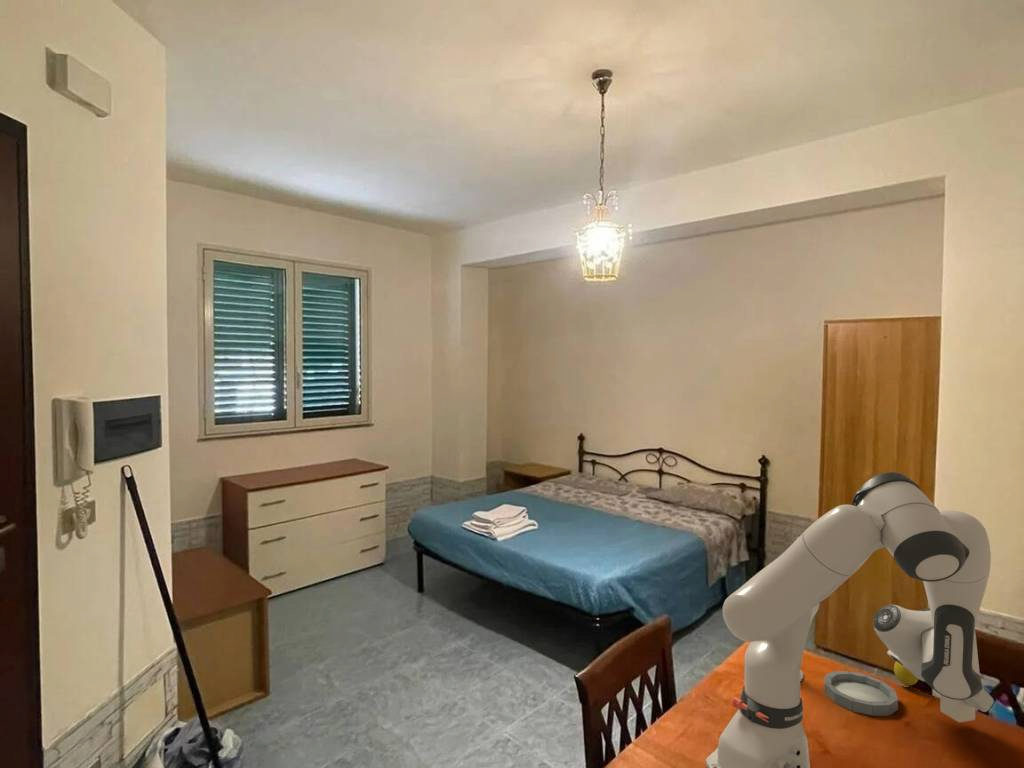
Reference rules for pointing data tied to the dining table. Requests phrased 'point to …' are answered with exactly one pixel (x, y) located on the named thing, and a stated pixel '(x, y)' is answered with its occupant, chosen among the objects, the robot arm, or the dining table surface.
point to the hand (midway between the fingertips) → (959, 696)
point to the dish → (861, 693)
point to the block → (957, 709)
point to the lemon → (904, 675)
